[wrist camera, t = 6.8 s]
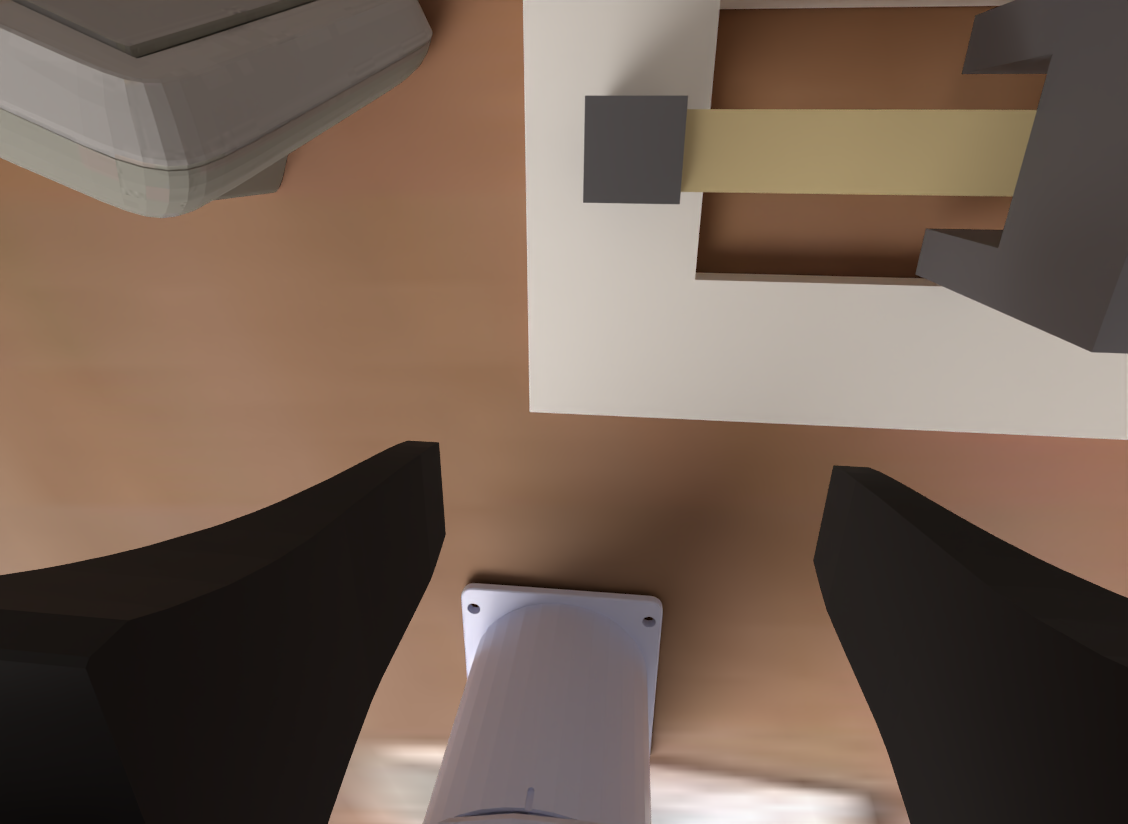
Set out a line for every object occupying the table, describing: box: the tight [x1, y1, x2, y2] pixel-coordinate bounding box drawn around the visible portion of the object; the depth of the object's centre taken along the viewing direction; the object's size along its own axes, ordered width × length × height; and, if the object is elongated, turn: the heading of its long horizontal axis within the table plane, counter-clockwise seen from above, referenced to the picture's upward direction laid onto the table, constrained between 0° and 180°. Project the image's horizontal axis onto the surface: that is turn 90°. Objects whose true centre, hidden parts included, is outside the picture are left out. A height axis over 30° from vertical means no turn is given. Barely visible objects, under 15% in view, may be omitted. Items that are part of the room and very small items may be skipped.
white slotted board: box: [523, 0, 1128, 440], centre depth 15 cm, size 14×20×6 cm
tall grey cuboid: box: [916, 0, 1128, 354], centre depth 12 cm, size 6×2×7 cm, turn 0°
